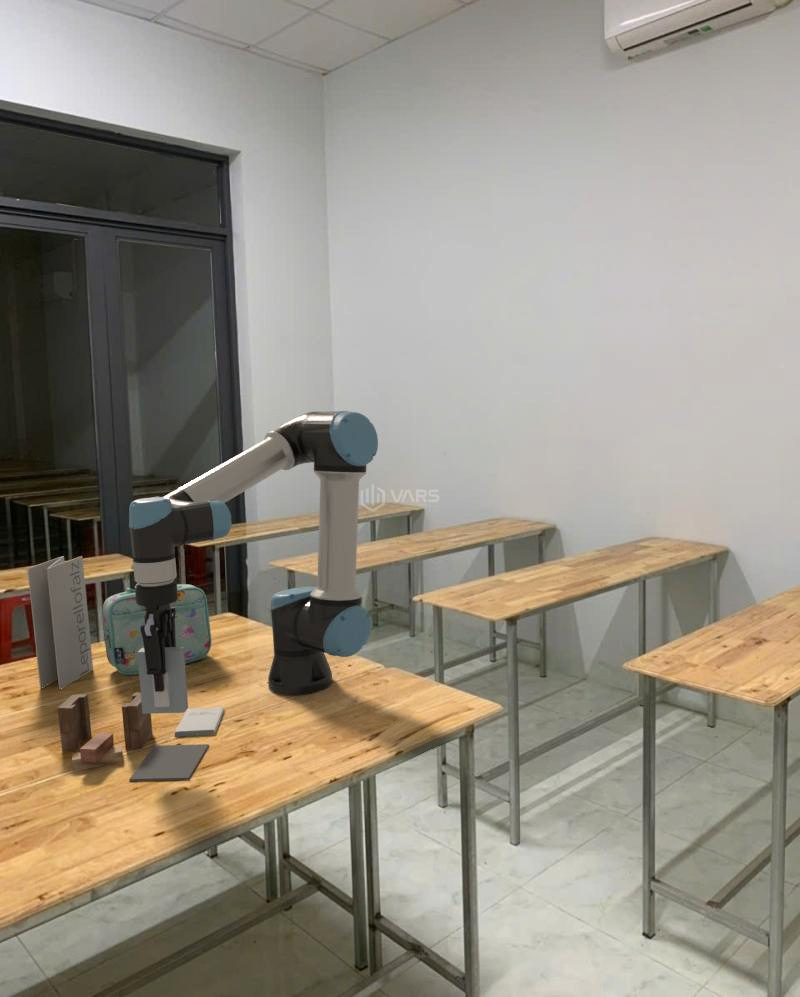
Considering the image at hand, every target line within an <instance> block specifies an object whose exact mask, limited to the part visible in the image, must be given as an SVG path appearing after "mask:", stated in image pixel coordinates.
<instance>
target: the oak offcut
mask: <svg viewBox="0 0 800 997" xmlns="http://www.w3.org/2000/svg"><path fill="white" fill-rule="evenodd" d="M123 754H124V753H123V745H114V746H113V747H112V748H111V749H110V750H109V751H107V752H106V753H105V754H104V755H103V756H102V757H101V758H100V759H99V760H98V761H97V762H85V761H81V755H80V751H79V752H75V753H72V754H71V756H72V757H71V765H72V771H73V772H74V771H80V770H85V769H91V768H96V767H97V768H98V767H102V766H107V765H108V766H109V765H113V764H114V765H115V764H119V763H123V762H124V755H123Z"/></svg>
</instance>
